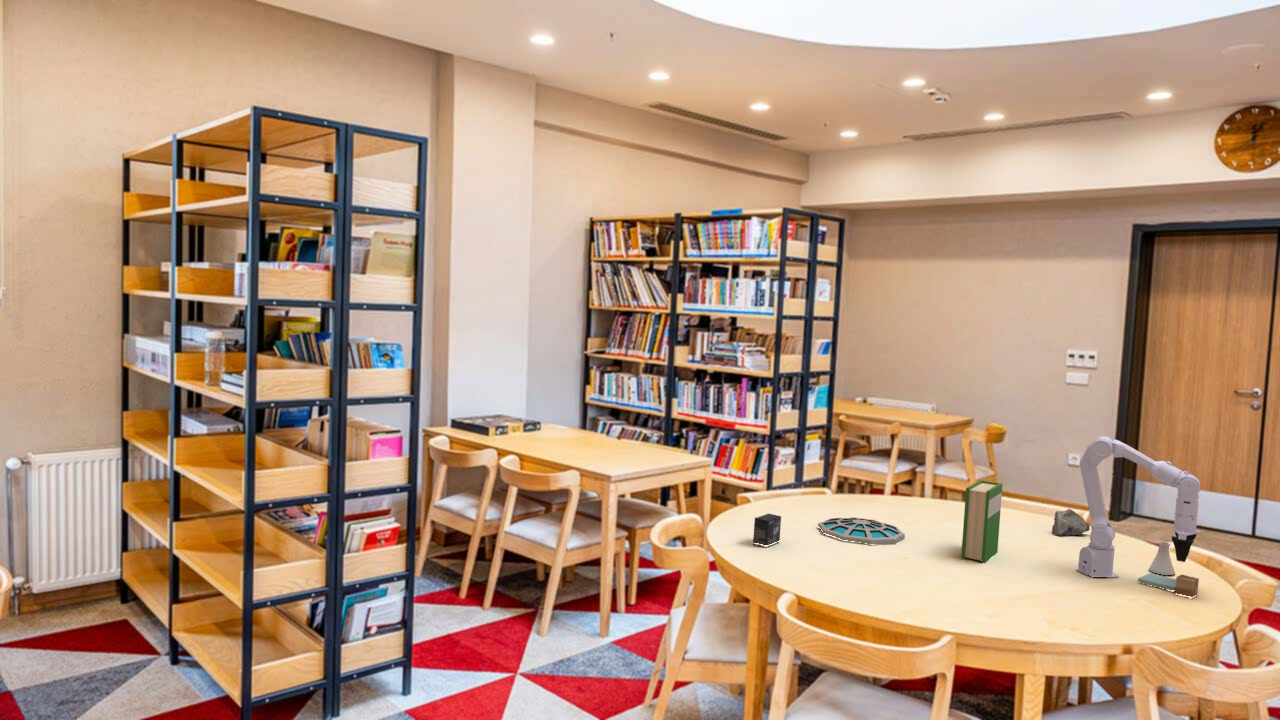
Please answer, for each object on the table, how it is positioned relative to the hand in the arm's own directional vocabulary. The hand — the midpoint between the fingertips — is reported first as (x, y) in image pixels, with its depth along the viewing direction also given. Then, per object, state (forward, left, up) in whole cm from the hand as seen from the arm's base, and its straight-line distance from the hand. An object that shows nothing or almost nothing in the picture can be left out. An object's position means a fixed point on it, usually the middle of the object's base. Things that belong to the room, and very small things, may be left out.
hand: (1182, 558), depth 261 cm
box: (-115, +52, -10) cm, 126 cm away
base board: (-3, +4, -10) cm, 11 cm away
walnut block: (-3, -5, -10) cm, 11 cm away
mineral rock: (+8, +60, -10) cm, 62 cm away
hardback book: (-45, +36, -10) cm, 58 cm away
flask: (+7, +15, -10) cm, 20 cm away
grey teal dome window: (-75, +64, -10) cm, 99 cm away
